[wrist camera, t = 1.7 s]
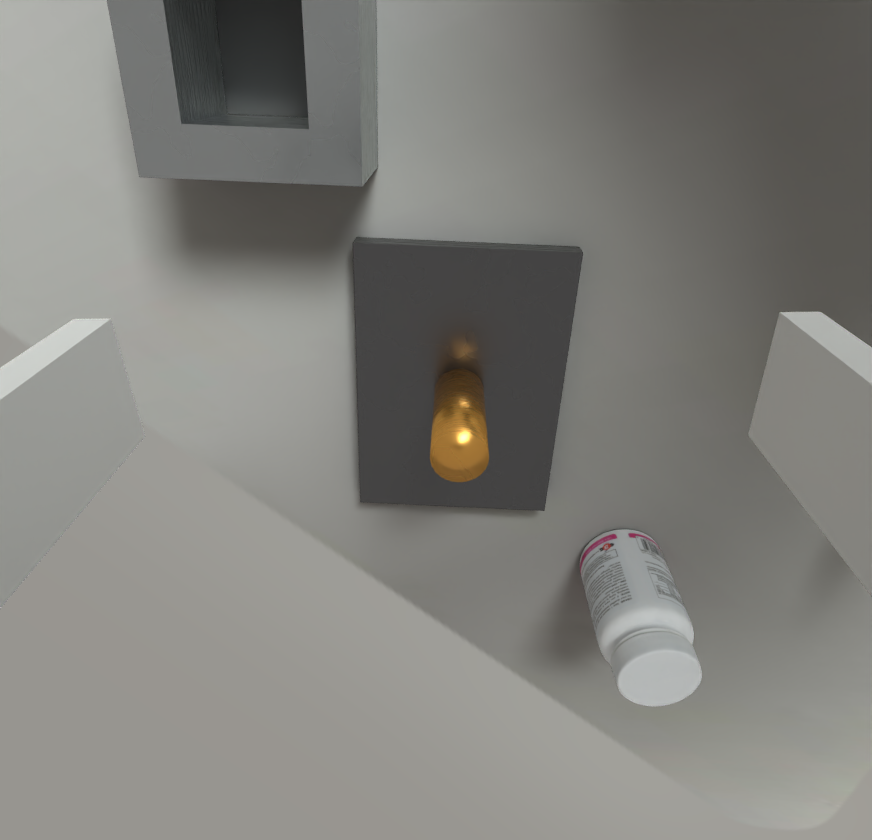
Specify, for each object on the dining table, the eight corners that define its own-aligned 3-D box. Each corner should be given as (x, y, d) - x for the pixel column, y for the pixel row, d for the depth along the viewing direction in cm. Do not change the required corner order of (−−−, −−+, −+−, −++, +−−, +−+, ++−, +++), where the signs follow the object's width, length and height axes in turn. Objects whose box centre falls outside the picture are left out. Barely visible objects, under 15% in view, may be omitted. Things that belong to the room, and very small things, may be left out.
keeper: (356, 237, 28) (328, 284, 22) (578, 246, 28) (612, 296, 22) (362, 491, 35) (343, 580, 29) (542, 499, 35) (559, 591, 29)
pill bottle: (580, 592, 39) (609, 716, 31) (575, 531, 36) (605, 650, 29) (661, 583, 38) (709, 708, 31) (660, 521, 36) (712, 640, 28)
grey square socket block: (156, -77, 23) (86, -110, 19) (375, -68, 23) (356, -99, 19) (190, 158, 27) (139, 177, 23) (377, 166, 27) (362, 186, 23)
